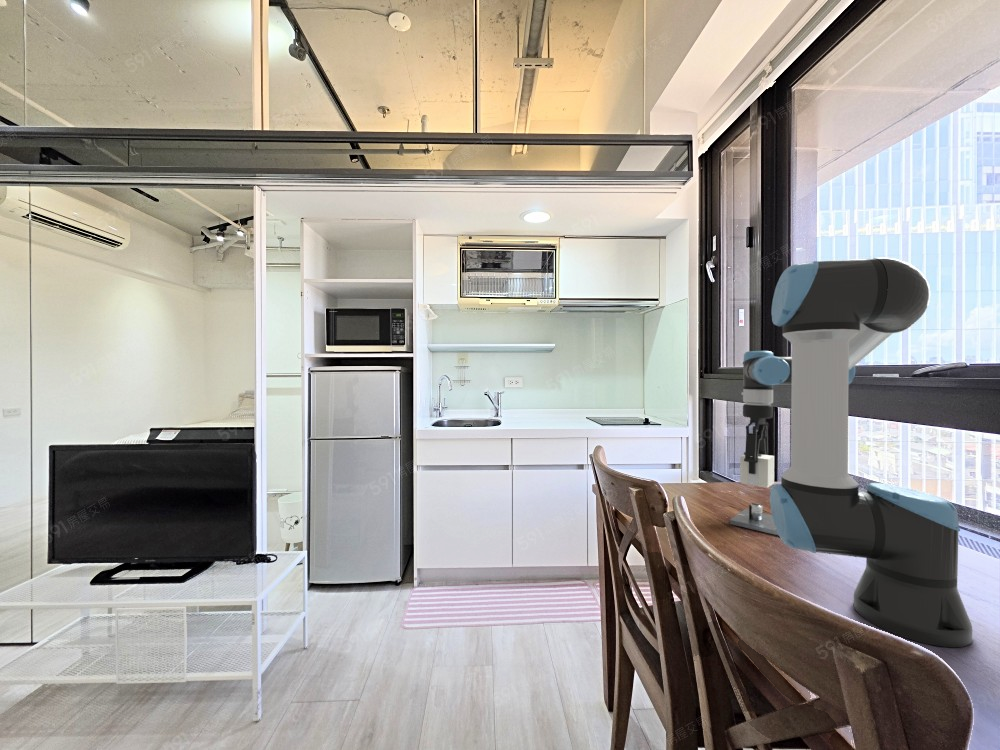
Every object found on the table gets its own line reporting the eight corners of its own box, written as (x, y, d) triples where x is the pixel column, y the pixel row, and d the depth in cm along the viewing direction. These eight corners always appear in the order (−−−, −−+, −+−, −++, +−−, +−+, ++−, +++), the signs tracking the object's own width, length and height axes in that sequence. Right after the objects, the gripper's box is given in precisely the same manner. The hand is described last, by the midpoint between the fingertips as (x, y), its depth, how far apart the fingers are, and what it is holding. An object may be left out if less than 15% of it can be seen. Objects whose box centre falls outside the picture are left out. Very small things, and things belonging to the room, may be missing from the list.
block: (774, 483, 124) (774, 453, 124) (767, 487, 119) (768, 457, 119) (744, 478, 130) (744, 450, 130) (737, 482, 125) (737, 453, 125)
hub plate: (787, 537, 113) (787, 517, 113) (729, 523, 123) (730, 505, 123) (798, 524, 123) (798, 505, 123) (744, 512, 133) (744, 495, 133)
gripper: (753, 401, 134) (752, 474, 134) (732, 405, 120) (731, 486, 120) (781, 403, 128) (780, 478, 129) (763, 406, 114) (761, 491, 115)
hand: (756, 482), depth 124 cm, fingers closed on block, 7 cm apart
